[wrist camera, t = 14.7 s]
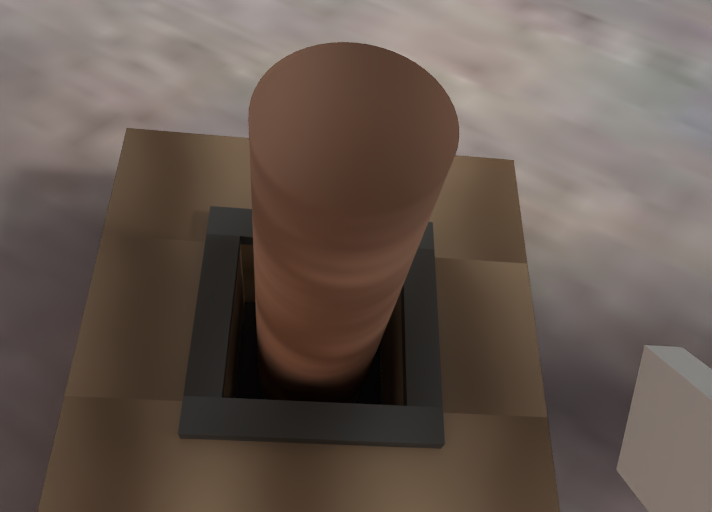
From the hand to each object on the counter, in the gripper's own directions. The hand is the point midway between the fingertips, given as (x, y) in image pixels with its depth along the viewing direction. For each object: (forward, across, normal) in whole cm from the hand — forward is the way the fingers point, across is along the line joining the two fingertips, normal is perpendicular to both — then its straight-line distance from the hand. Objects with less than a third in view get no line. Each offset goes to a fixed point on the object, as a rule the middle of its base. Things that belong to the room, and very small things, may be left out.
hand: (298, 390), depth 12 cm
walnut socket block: (+14, +1, -6) cm, 16 cm away
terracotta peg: (+14, +1, -6) cm, 16 cm away
